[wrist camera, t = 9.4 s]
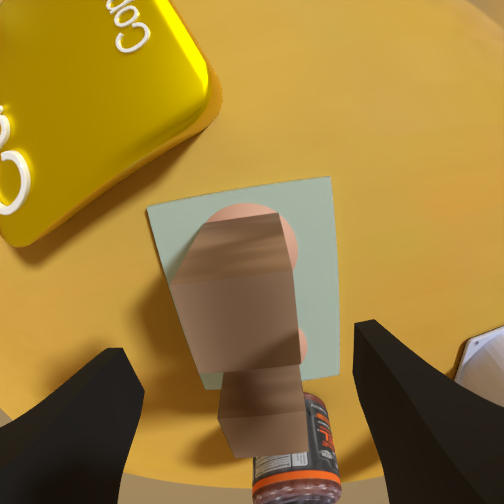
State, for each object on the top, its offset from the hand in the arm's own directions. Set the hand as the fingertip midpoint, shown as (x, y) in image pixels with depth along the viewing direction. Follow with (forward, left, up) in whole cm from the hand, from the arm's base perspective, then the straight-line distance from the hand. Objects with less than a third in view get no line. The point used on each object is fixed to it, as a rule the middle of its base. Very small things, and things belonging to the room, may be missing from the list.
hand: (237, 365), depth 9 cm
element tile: (+9, -12, -10) cm, 18 cm away
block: (0, +7, -9) cm, 11 cm away
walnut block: (0, 0, -9) cm, 9 cm away
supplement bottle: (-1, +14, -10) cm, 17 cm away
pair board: (0, +3, -9) cm, 10 cm away
